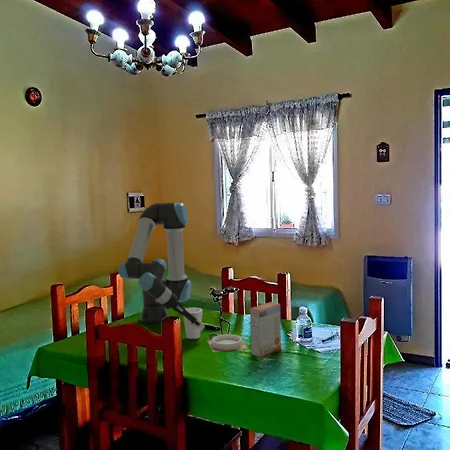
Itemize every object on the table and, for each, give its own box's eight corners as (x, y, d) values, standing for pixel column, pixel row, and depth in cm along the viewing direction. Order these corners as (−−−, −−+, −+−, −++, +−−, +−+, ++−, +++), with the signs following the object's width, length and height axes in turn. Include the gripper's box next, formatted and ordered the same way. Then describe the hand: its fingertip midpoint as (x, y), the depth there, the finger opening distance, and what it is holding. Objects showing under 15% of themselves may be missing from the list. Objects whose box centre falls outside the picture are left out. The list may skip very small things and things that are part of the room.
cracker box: (271, 346, 211) (270, 301, 209) (281, 349, 207) (281, 303, 205) (250, 354, 201) (249, 307, 200) (261, 358, 197) (260, 310, 195)
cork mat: (207, 341, 220) (207, 340, 220) (240, 338, 223) (240, 337, 223) (212, 353, 205) (212, 352, 205) (248, 349, 208) (248, 348, 208)
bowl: (210, 340, 219) (210, 335, 219) (238, 338, 222) (238, 333, 222) (215, 350, 206) (214, 345, 206) (244, 348, 209) (244, 342, 208)
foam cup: (200, 340, 219) (199, 313, 217) (181, 339, 220) (180, 312, 219) (204, 333, 228) (204, 308, 227) (186, 333, 230) (185, 307, 229)
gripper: (154, 299, 226) (185, 325, 234) (169, 310, 206) (203, 338, 214) (164, 287, 227) (195, 314, 236) (180, 296, 208) (213, 325, 216)
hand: (199, 325), depth 225 cm, fingers closed on foam cup, 9 cm apart
